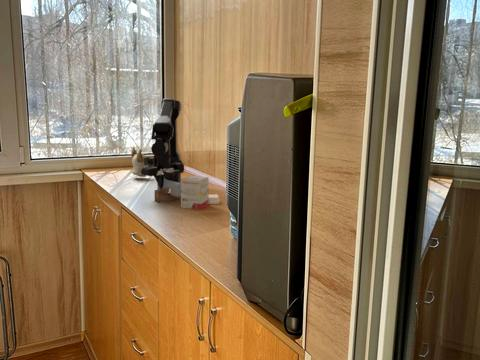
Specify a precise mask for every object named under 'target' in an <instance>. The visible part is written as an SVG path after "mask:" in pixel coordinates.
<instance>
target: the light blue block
mask: <svg viewBox="0 0 480 360" xmlns="http://www.w3.org/2000/svg"><path fill="white" fill-rule="evenodd" d="M156 183H157V182H156ZM156 186H157V189H156V190H158V189H159V186H158V183H157V185H156ZM163 188H165V189H168V193H171V195H174V196H178V197H179V196H181V183H178V182H174V181H170V180H166V179H164V182H163ZM163 188H162V189H163Z"/></svg>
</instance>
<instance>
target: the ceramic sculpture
mask: <svg viewBox="0 0 480 360" xmlns="http://www.w3.org/2000/svg"><path fill="white" fill-rule="evenodd" d="M130 154H131V163H132V167H133V168H132V170H131V173H132V175H134V176H137V177H140V178H147V176H146V175H142V174H141V169H142V168H143V167H148V165H146V166H145V165H144V158H146V157H147V156H146V155H145V154H143V153H142V148H140V149H139V151H138V152H137V150H136V149H135V146H133V147H132V149H131V153H130Z"/></svg>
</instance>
